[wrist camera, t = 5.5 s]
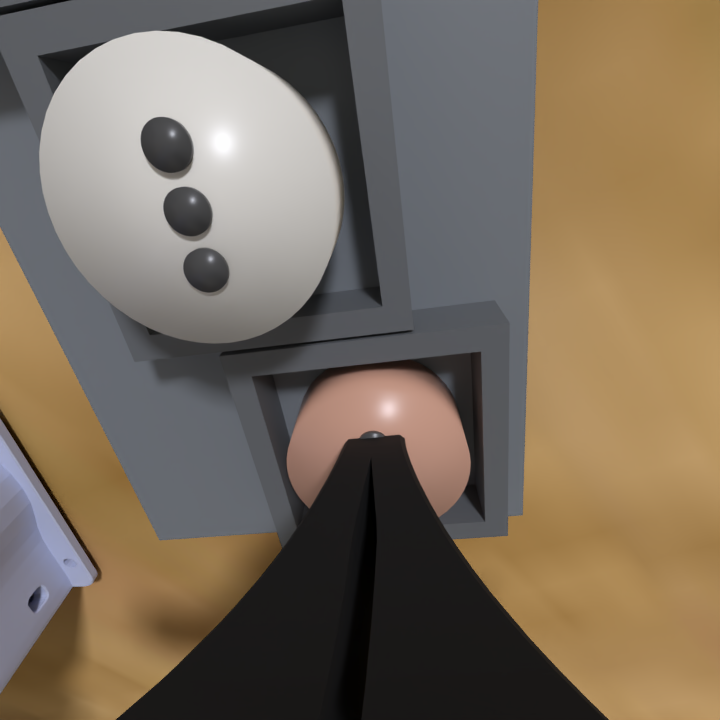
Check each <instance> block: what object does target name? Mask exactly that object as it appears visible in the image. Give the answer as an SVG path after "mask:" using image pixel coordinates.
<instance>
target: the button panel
mask: <svg viewBox="0 0 720 720" xmlns="http://www.w3.org/2000/svg"><path fill="white" fill-rule="evenodd" d="M537 19H538V0H0V227H1V229H2V231H3V233H4V235H5V237H6V239H7V241H8V243H9V245H10V247H11V249H12V251H13V253H14V255H15V257H16V259H17V261H18V263H19V265H20V267H21V269H22V271H23V273H24V275H25V276H26V278H27V280H28V282H29V284H30V286H31V288H32V290H33V292H34V294H35V296H36V298H37V300H38V302H39V304H40V306H41V308H42V310H43V312H44V314H45V316H46V318H47V320H48V322H49V324H50V326H51V328H52V330H53V332H54V334H55V335H56V337H57V339H58V341H59V343H60V345H61V347H62V349H63V351H64V353H65V355H66V357H67V359H68V361H69V363H70V365H71V367H72V369H73V371H74V373H75V375H76V377H77V379H78V381H79V383H80V385H81V387H82V389H83V391H84V392H85V394H86V396H87V398H88V400H89V402H90V404H91V406H92V408H93V410H94V412H95V414H96V416H97V418H98V420H99V422H100V424H101V426H102V428H103V430H104V432H105V434H106V436H107V438H108V440H109V442H110V444H111V446H112V448H113V449H114V451H115V453H116V455H117V457H118V459H119V461H120V463H121V465H122V467H123V469H124V471H125V473H126V475H127V477H128V479H129V481H130V483H131V485H132V487H133V489H134V491H135V493H136V495H137V497H138V499H139V501H140V503H141V505H142V507H143V508H144V510H145V512H146V514H147V516H148V518H149V520H150V522H151V524H152V526H153V528H154V530H155V532H156V534H157V536H158V538H159V540H170V539H185V538H199V537H214V536H228V535H243V534H257V533H272V532H277V534H278V537H279V540H280V543H281V546H282V548H283V547H284V546H285V544H286V543H287V542H288V540H289V539H290V537H291V536H292V534H293V533H294V531H295V530H296V528H297V527H298V525H299V524H300V522H301V521H302V519H303V518H304V516H305V515H306V513H307V512H308V510H309V508H308V507H307V506H306V505H305V503H304V502H303V501H302V500H301V499H300V498H299V496H298V495H297V493H296V492H295V490H294V488H293V486H292V484H291V481H290V479H289V475H288V471H287V452H288V447H289V444H290V440H291V437H292V433H293V430H294V427H295V423H296V420H297V417H298V413H299V410H300V406H301V403H302V400H303V397H304V395H305V393H306V391H307V390H308V388H309V387H310V385H311V384H312V382H313V381H314V380H315V379H316V378H317V377H318V376H319V375H320V374H322V373H323V372H324V371H325V370H327V369H328V368H335V367H344V366H353V365H362V364H371V363H380V362H390V361H399V360H408V359H410V360H413V361H415V362H417V363H420V364H422V365H423V366H425V367H427V368H428V369H430V370H431V371H433V372H434V373H435V374H436V375H437V376H439V377H440V378H441V379H442V381H443V382H444V383H445V384H446V385H447V387H448V388H449V390H450V391H451V393H452V395H453V397H454V399H455V402H456V405H457V408H458V412H459V416H460V419H461V423H462V427H463V430H464V434H465V438H466V441H467V445H468V449H469V453H470V460H471V465H470V475H469V479H468V482H467V485H466V487H465V490H464V491H463V493H462V495H461V496H460V498H459V499H458V500H457V502H456V503H455V504H454V505H453V506H452V507H451V508H450V509H449V510H448V511H447V512H445V513H444V514H443V515H441V516H440V517H439V519H440V521H441V522H442V524H443V526H444V527H445V529H446V530H447V532H448V534H449V535H450V537H451V538H452V539H465V538H481V537H496V536H508V516H518V515H523V483H524V450H525V417H526V384H527V351H528V318H529V284H530V251H531V218H532V185H533V152H534V118H535V85H536V52H537ZM149 31H170V32H181V33H186V34H190V35H195V36H200V37H203V38H205V39H208V40H211V41H214V42H216V43H219V44H222V45H224V46H226V47H228V48H229V49H231V50H233V51H235V52H237V53H239V54H241V55H242V56H244V57H246V58H248V59H250V60H252V61H254V62H256V63H257V64H259V65H261V66H263V67H265V68H267V69H268V70H270V71H272V72H274V73H276V74H277V75H278V76H280V77H281V78H282V79H284V80H285V81H287V82H288V83H289V84H290V85H292V86H293V87H294V88H295V89H296V90H297V91H298V92H299V93H300V94H301V95H302V96H303V97H304V98H305V99H306V100H307V102H308V103H309V104H310V105H311V106H312V108H313V109H314V110H315V111H316V113H317V114H318V116H319V118H320V119H321V121H322V122H323V124H324V125H325V127H326V129H327V131H328V133H329V135H330V137H331V139H332V141H333V143H334V146H335V149H336V152H337V155H338V158H339V161H340V166H341V170H342V175H343V183H344V194H345V196H344V214H343V220H342V226H341V230H340V233H339V237H338V240H337V243H336V245H335V248H334V250H333V252H332V255H331V257H330V260H329V262H328V265H327V267H326V269H325V271H324V274H323V276H322V278H321V280H320V282H319V284H318V286H317V287H316V289H315V290H314V292H313V294H312V295H311V297H310V298H309V299H308V300H307V301H306V303H305V304H304V305H303V306H302V307H301V309H300V310H298V311H297V312H296V313H295V314H294V315H293V316H292V317H291V318H289V319H288V320H287V321H285V322H284V323H282V324H281V325H279V326H278V327H276V328H275V329H272V330H270V331H268V332H266V333H264V334H262V335H259V336H256V337H253V338H250V339H247V340H242V341H237V342H231V343H216V344H213V343H198V342H192V341H187V340H181V339H178V338H175V337H171V336H168V335H165V334H162V333H160V332H157V331H155V330H153V329H150V328H148V327H146V326H144V325H142V324H141V323H139V322H137V321H135V320H133V319H132V318H130V317H129V316H127V315H126V314H124V313H123V312H121V311H120V310H118V309H117V308H116V307H115V306H113V305H112V304H111V303H110V302H109V301H107V300H106V299H105V298H104V297H103V296H102V295H101V294H100V293H99V292H98V291H97V290H96V289H95V288H94V287H93V286H92V285H91V284H90V283H89V282H88V281H87V280H86V278H85V277H84V276H83V275H82V273H81V272H80V271H79V270H78V269H77V267H76V266H75V264H74V263H73V261H72V260H71V258H70V257H69V255H68V254H67V252H66V251H65V249H64V247H63V245H62V243H61V241H60V239H59V237H58V235H57V233H56V231H55V229H54V226H53V224H52V221H51V219H50V216H49V213H48V210H47V206H46V203H45V199H44V195H43V191H42V184H41V177H40V162H39V149H40V140H41V131H42V127H43V123H44V119H45V115H46V111H47V109H48V107H49V104H50V102H51V100H52V97H53V95H54V93H55V91H56V90H57V88H58V86H59V85H60V83H61V82H62V80H63V79H64V77H65V76H66V74H67V73H68V72H69V71H70V70H71V69H72V68H73V67H74V66H75V65H76V64H77V62H78V61H79V60H81V59H82V58H83V57H85V56H86V55H87V54H89V53H90V52H91V51H93V50H94V49H95V48H97V47H99V46H101V45H103V44H105V43H107V42H109V41H111V40H113V39H116V38H119V37H123V36H126V35H130V34H133V33H140V32H149Z"/></svg>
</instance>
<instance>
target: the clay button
mask: <svg viewBox="0 0 720 720" xmlns="http://www.w3.org/2000/svg"><path fill="white" fill-rule="evenodd" d="M390 435H401V436H402V437H404V438H405V443H406V448H407V452H408V455H409V458H410V461H411V463H412V466H413V468H414V471H415V473H416V475H417V478H418V480H419V482H420V484H421V486H422V488H423V490H424V492H425V494H426V496H427V498H428V500H429V502H430V503H431V505H432V507H433V509H434V510H435V512H436V514H437V516H438V517H440V516H441V515H443V514H444V513H445V512H447V511H448V510H449V509H450V508H451V507H452V506H453V505H454V504H455V503H456V502H457V500H458V499H459V498H460V496H461V495H462V493H463V491H464V490H465V487H466V485H467V482H468V479H469V475H470V465H471V460H470V453H469V449H468V445H467V441H466V438H465V434H464V430H463V427H462V423H461V419H460V416H459V412H458V408H457V405H456V402H455V399H454V397H453V395H452V393H451V391H450V390H449V388H448V387H447V385H446V384H445V383H444V382H443V381H442V379H441V378H440V377H439V376H437V375H436V374H435V373H434V372H433V371H431V370H430V369H428V368H427V367H425V366H423V365H422V364H420V363H417V362H415V361H413V360H410V359H408V360H399V361H390V362H380V363H371V364H362V365H353V366H344V367H335V368H328V369H327V370H325V371H324V372H323V373H322V374H320V375H319V376H318V377H317V378H316V379H315V380H314V381H313V382H312V384H311V385H310V387H309V388H308V390H307V391H306V393H305V395H304V397H303V400H302V403H301V406H300V410H299V413H298V417H297V420H296V423H295V427H294V430H293V433H292V437H291V440H290V444H289V447H288V452H287V471H288V475H289V479H290V481H291V484H292V486H293V488H294V490H295V492H296V493H297V495H298V496H299V498H300V499H301V500H302V501H303V502H304V503H305V505H306V506H307V507H308V508H309V509H310V507H311V506H312V504H313V502H314V500H315V499H316V497H317V495H318V494H319V492H320V490H321V488H322V487H323V485H324V483H325V482H326V480H327V478H328V476H329V474H330V472H331V470H332V469H333V467H334V465H335V463H336V461H337V459H338V457H339V455H340V452H341V450H342V448H343V446H344V444H345V442H346V441H347V440H348V439H356V438H360V439H366V438H377V437H384V436H390Z"/></svg>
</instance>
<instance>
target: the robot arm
mask: <svg viewBox="0 0 720 720" xmlns="http://www.w3.org/2000/svg"><path fill="white" fill-rule="evenodd" d="M96 577H97V571H96V569H95V568H94V566H93V564H92V563H91V561H90V560H89V558H88V556H87V555H86V553H85V552H84V550H83V549H82V547H81V545H80V544H79V542H78V541H77V539H76V537H75V536H74V534H73V533H72V531H71V530H70V528H69V526H68V525H67V523H66V522H65V520H64V518H63V517H62V515H61V514H60V512H59V511H58V509H57V507H56V506H55V504H54V503H53V501H52V499H51V498H50V496H49V495H48V493H47V492H46V490H45V488H44V487H43V485H42V484H41V482H40V480H39V479H38V477H37V476H36V474H35V472H34V471H33V469H32V468H31V466H30V465H29V463H28V461H27V460H26V458H25V457H24V455H23V453H22V452H21V450H20V449H19V447H18V446H17V444H16V442H15V441H14V439H13V438H12V436H11V434H10V433H9V431H8V430H7V428H6V427H5V425H4V423H3V422H2V420H1V419H0V694H1V692H2V691H3V689H4V688H5V686H6V685H7V683H8V682H9V680H10V679H11V677H12V676H13V674H14V673H15V671H16V670H17V669H18V667H19V666H20V664H21V663H22V661H23V660H24V658H25V657H26V655H27V654H28V652H29V651H30V649H31V648H32V646H33V645H34V643H35V642H36V641H37V639H38V638H39V636H40V635H41V633H42V632H43V630H44V629H45V627H46V626H47V624H48V623H49V621H50V620H51V618H52V617H53V615H54V614H55V613H56V611H57V610H58V608H59V607H60V605H61V604H62V602H63V601H64V599H65V598H66V596H67V595H68V593H69V592H70V590H71V589H72V587H79V586H88V585H91V584H92V583H93V582H94V580H95V579H96ZM116 720H609V719H608V718H607V717H605V716H604V715H603V714H602V713H601V712H600V711H599V710H598V709H597V708H596V707H595V706H594V705H593V704H592V703H591V702H590V701H589V700H588V699H587V698H586V697H585V696H584V695H583V694H582V693H581V692H580V691H579V690H578V689H577V688H576V687H575V686H574V685H573V684H572V683H571V682H570V681H569V680H568V679H567V678H566V677H565V676H564V675H563V674H562V673H561V671H560V670H559V669H558V668H557V667H556V666H555V665H554V664H553V663H552V662H551V661H550V660H549V659H548V658H547V657H546V655H545V654H544V653H543V652H542V651H541V650H540V649H539V648H538V647H537V646H536V645H535V644H534V642H533V641H532V640H531V639H530V638H529V637H528V636H527V635H526V634H525V632H524V631H523V630H522V629H521V628H520V626H519V625H518V624H517V623H516V622H515V621H514V619H513V618H512V617H511V616H510V615H509V613H508V612H507V611H506V610H505V609H504V608H503V606H502V605H501V604H500V603H499V602H498V601H497V599H496V598H495V597H494V596H493V595H492V593H491V592H490V591H489V590H488V588H487V587H486V586H485V584H484V583H483V582H482V580H481V579H480V578H479V576H478V575H477V574H476V573H475V571H474V570H473V569H472V567H471V566H470V564H469V563H468V562H467V560H466V559H465V557H464V556H463V555H462V553H461V552H460V550H459V549H458V547H457V546H456V544H455V543H454V541H453V540H452V538H451V537H450V535H449V534H448V532H447V530H446V529H445V527H444V526H443V524H442V522H441V521H440V519H439V517H438V516H437V514H436V512H435V510H434V509H433V507H432V505H431V503H430V502H429V500H428V498H427V496H426V494H425V492H424V490H423V488H422V486H421V484H420V482H419V480H418V478H417V475H416V473H415V471H414V468H413V466H412V463H411V461H410V458H409V455H408V452H407V448H406V443H405V438H404V437H402V436H401V435H390V436H384V437H377V438H366V439H360V438H356V439H348V440H347V441H346V442H345V444H344V446H343V448H342V450H341V452H340V455H339V457H338V459H337V461H336V463H335V465H334V467H333V469H332V470H331V472H330V474H329V476H328V478H327V480H326V482H325V483H324V485H323V487H322V488H321V490H320V492H319V494H318V495H317V497H316V499H315V500H314V502H313V504H312V506H311V507H310V509H309V510H308V512H307V513H306V515H305V516H304V518H303V519H302V521H301V522H300V524H299V525H298V527H297V528H296V530H295V531H294V533H293V534H292V536H291V537H290V539H289V540H288V542H287V543H286V544H285V546H284V547H283V548H282V550H281V551H280V553H279V554H278V555H277V557H276V558H275V559H274V561H273V562H272V563H271V564H270V566H269V567H268V568H267V569H266V571H265V572H264V573H263V574H262V576H261V577H260V578H259V579H258V581H257V582H256V583H255V584H254V585H253V586H252V587H251V589H250V590H249V591H248V592H247V593H246V594H245V596H244V597H243V598H242V599H241V600H240V601H239V602H238V604H237V605H236V606H235V607H234V608H233V609H232V610H231V611H230V612H229V614H228V615H227V616H226V617H225V618H224V619H223V620H222V621H221V622H220V623H219V624H218V625H217V626H216V627H215V628H214V629H213V630H212V631H211V632H210V633H209V634H208V635H207V636H206V637H205V638H204V639H203V640H202V641H201V642H200V643H199V644H198V645H197V646H196V647H195V648H194V649H193V650H192V651H191V652H190V653H189V654H188V655H187V656H186V657H185V658H184V659H183V660H182V661H181V662H180V663H179V664H178V665H177V666H176V667H175V668H174V669H173V670H172V671H171V672H170V673H169V674H167V675H166V676H165V677H164V678H163V679H162V680H161V681H160V682H159V683H158V684H156V685H155V686H154V687H153V688H152V689H151V690H150V691H148V692H147V693H146V694H145V695H144V696H143V697H141V698H140V699H139V700H138V701H137V702H136V703H135V704H133V705H132V706H131V707H130V708H129V709H128V710H126V711H125V712H124V713H123V714H122V715H121V716H120V717H118V718H117V719H116Z"/></svg>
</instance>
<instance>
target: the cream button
mask: <svg viewBox="0 0 720 720" xmlns="http://www.w3.org/2000/svg"><path fill="white" fill-rule="evenodd" d="M39 162H40V177H41V184H42V191H43V195H44V199H45V203H46V206H47V210H48V213H49V216H50V219H51V221H52V224H53V226H54V229H55V231H56V233H57V235H58V237H59V239H60V241H61V243H62V245H63V247H64V249H65V251H66V252H67V254H68V255H69V257H70V258H71V260H72V261H73V263H74V264H75V266H76V267H77V269H78V270H79V271H80V272H81V273H82V275H83V276H84V277H85V278H86V280H87V281H88V282H89V283H90V284H91V285H92V286H93V287H94V288H95V289H96V290H97V291H98V292H99V293H100V294H101V295H102V296H103V297H104V298H105V299H106V300H107V301H109V302H110V303H111V304H112V305H113V306H115V307H116V308H117V309H118V310H120V311H121V312H123V313H124V314H126V315H127V316H129V317H130V318H132V319H133V320H135V321H137V322H139V323H141V324H142V325H144V326H146V327H148V328H150V329H153V330H155V331H157V332H160V333H162V334H165V335H168V336H171V337H175V338H178V339H181V340H187V341H192V342H198V343H213V344H216V343H231V342H237V341H242V340H247V339H250V338H253V337H256V336H259V335H262V334H264V333H266V332H268V331H270V330H272V329H275V328H276V327H278V326H279V325H281V324H282V323H284V322H285V321H287V320H288V319H289V318H291V317H292V316H293V315H294V314H295V313H296V312H297V311H298V310H300V309H301V307H302V306H303V305H304V304H305V303H306V301H307V300H308V299H309V298H310V297H311V295H312V294H313V292H314V290H315V289H316V287H317V286H318V284H319V282H320V280H321V278H322V276H323V274H324V271H325V269H326V267H327V265H328V262H329V260H330V257H331V255H332V252H333V250H334V248H335V245H336V243H337V240H338V237H339V233H340V230H341V226H342V220H343V214H344V196H345V194H344V183H343V175H342V170H341V166H340V161H339V158H338V155H337V152H336V149H335V146H334V143H333V141H332V139H331V137H330V135H329V133H328V131H327V129H326V127H325V125H324V124H323V122H322V121H321V119H320V118H319V116H318V114H317V113H316V111H315V110H314V109H313V108H312V106H311V105H310V104H309V103H308V102H307V100H306V99H305V98H304V97H303V96H302V95H301V94H300V93H299V92H298V91H297V90H296V89H295V88H294V87H293V86H292V85H290V84H289V83H288V82H287V81H285V80H284V79H282V78H281V77H280V76H278V75H277V74H276V73H274V72H272V71H270V70H268V69H267V68H265V67H263V66H261V65H259V64H257V63H256V62H254V61H252V60H250V59H248V58H246V57H244V56H242V55H241V54H239V53H237V52H235V51H233V50H231V49H229V48H228V47H226V46H224V45H222V44H219V43H216V42H214V41H211V40H208V39H205V38H203V37H200V36H195V35H190V34H186V33H181V32H170V31H149V32H140V33H133V34H130V35H126V36H123V37H119V38H116V39H113V40H111V41H109V42H107V43H105V44H103V45H101V46H99V47H97V48H95V49H94V50H93V51H91V52H90V53H89V54H87V55H86V56H85V57H83V58H82V59H81V60H79V61H78V62H77V64H76V65H75V66H74V67H73V68H72V69H71V70H70V71H69V72H68V73H67V74H66V76H65V77H64V79H63V80H62V82H61V83H60V85H59V86H58V88H57V90H56V91H55V93H54V95H53V97H52V100H51V102H50V104H49V107H48V109H47V111H46V115H45V119H44V123H43V127H42V131H41V140H40V149H39Z"/></svg>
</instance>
